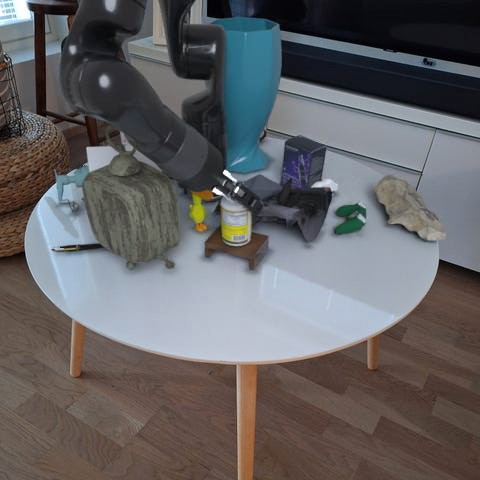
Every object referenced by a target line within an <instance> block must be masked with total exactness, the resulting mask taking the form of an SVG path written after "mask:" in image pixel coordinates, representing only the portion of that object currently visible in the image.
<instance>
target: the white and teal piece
mask: <svg viewBox="0 0 480 480" xmlns="http://www.w3.org/2000/svg"><path fill="white" fill-rule="evenodd" d="M116 146H117V147H118V145H116ZM125 150H126V151H132V150H133V147H132V146H125ZM118 154H119V152H117V151H116V150H114V149H113V148H112V147H111V146H105V147H103V146H87V147H86V157H87V165H86V166H84V167H81V170H75V171H74V172H73V175H68V174H58V173H57V170H56V168H53V171H54V174H55V181H56V190H57V200H58V205H59V206H62V205H63V204H62V203H63V201H62V200H63V195H64V186H68V185H70V184H75V187H76V188H79V189H80V188H82V182H83V181H84V179H85V177H86V175H87V174H88V173H89V172H92V171H94V170H97V169H99V168H102V167H104V166H107V165H109V164H110V162H111V160H112V159H113V157H114V156H116V155H118ZM133 156H134V157H135V158H136V159H137V160H138V161H141V162H144V163H146V164H148V165H150V166H152V167H154V168H156V169H158V170H160V171H161V172H163V171H162V170H161V169H160V168H159V167H158V166H157V165H156V164H155V163H154V162H153V161H151V160H150V159H148V158H147V157H146V156H144V155H143V154H141V153H140V152H139V151H137V150H136V152H135V153H134V154H133Z"/></svg>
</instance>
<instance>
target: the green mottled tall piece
mask: <svg viewBox="0 0 480 480" xmlns="http://www.w3.org/2000/svg"><path fill="white" fill-rule="evenodd" d="M111 130H115V131H118V132H119V133H120V132H122V131H121V130H120V129H118V128H117V127H115V126H114V125H112V124H109V125H107V126H106V128H105V131H104V133H105V134H104V135H105V139H106V142H107V141H108V142H107V144H108V143H109V144H110V146H111V147H112V148H113V149H114V150H116V151H117V152H119V154H118V155H116V156H114V157H113V159H112V160H111V162H110V164H109V165H107V166H104V167H102V168H99V169H97V170H94V171H92V172H89V173H88V174H87V175H86V177H85V179H84V181H83V182H82V187H81V189H82V195H83V197H84V201H85V202H84V201H83V202H84V205H85V208H86V209H85V210H86V214H87V217H88V221H89V225H90V228H91V231H92V234H93V236H94V238H95V241H97V242H98V243H100V244H101V245H102V246H104V247H105V248H104V249H107V250H108V251H109V252H111V253H113V254H114V255H116V256H118V257H120V258H121V259H123V260H125V261H127V262H126V264H125V266H126V268H127V269H128V270H134V269H136V264H148V263H150V262H152V261H154V260H155V259H157V258H160V259H162V261H164V262H165V268H167V269H170V270H171V269H173V268H174V267H175V261H174V260H172V259H168V258H167V257H166V256H165V253H168V252H169V251H170V250H172V249H174V248H176V247H177V246H179V243H180V241H181V216H180V208H179V201H178V195H177V192H176V188H175V185H174V182H173V180H171V179H170V178H169V177H170V176H169V175H168V174H166V173H165V172H164V171H162V172H161V171H160V170H158V169H156V168H154V167H152V166H150V165H148V164H146V163H144V162H141V161H138V160H137V159H136V158H135V157H134V156H133V154H134V153H135V152H136V149H135V148H134V147H133V150H132V151H126V150H125V146H124V145H123V144H122V143H120V144H118V145H116V144H115V143H114V142H113V141H112V140H111V137H110V135H109V134H110V133H109V132H110V131H111ZM122 133H123V132H122ZM109 137H110V138H109ZM117 146H118V147H117Z"/></svg>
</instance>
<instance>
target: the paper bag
mask: <svg viewBox="0 0 480 480" xmlns="http://www.w3.org/2000/svg"><path fill="white" fill-rule="evenodd" d="M243 184H244V185H245V186H246V187H247V188H248V189H249V190H251V191H252V192H253V193H254V194H255V195H257V196H259V198H260V201H259V202H260V203H261V204H263V209H262V210H261V212H260V214H259V215H258V216H255V215H254V214H252V219H256V220H257V221H259V222H261V221H262V222H263V223H265V222H273V221H274V222H273V223H276V222H275V221H278V222H280V223H286V228H287V229H286V230H290V229H291V228H292V226H293V225H294V224H296V223H297V224H298V226H299V229H300V230H301V232H302V235H303V237H304V239H305V240H306V241H307V243H310V242H312V241H314V240H316V239H317V237H318V236H319V234H320V231H321V230H322V228H323V225H324V223H325V221H326V219H327V215H328V212H329V208H330V205H331V203H332V198H333V195H332V194H333V191H331V189H330V187H310V188H292V189H291V190H290V193H289V196H288V199H287V202H288V201H289V200H290V199H291V198H292V197H293V196H294V195H295V194H296V193H297V192H298V191H299V190H301V197H300V199H299V201H298V203H296V204H292V203H291V204H292V205H290V206H288V207H285V206H280V205H278V202H277V200H278V198H279V195H280V193H281V191H282V189H283V187H284V186H283V185H281V184H279V183H277V182H276V181H274V180H272V179H270V178H268V177H266V176H265V175H263V174H261V173H258V174H256V175H255V176H253V177H251V178H248V179H246V180H244V181H243ZM221 199H222V196H221V198H220V200H218V201H217V204H216V206H215V208H214V210H213V212H212V214H211V217H212V223H213V229H214V231H215V230H216V229H217V228H218V227H219V226H220V225H221ZM287 202H286V204H287ZM286 204H285V205H286Z"/></svg>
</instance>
